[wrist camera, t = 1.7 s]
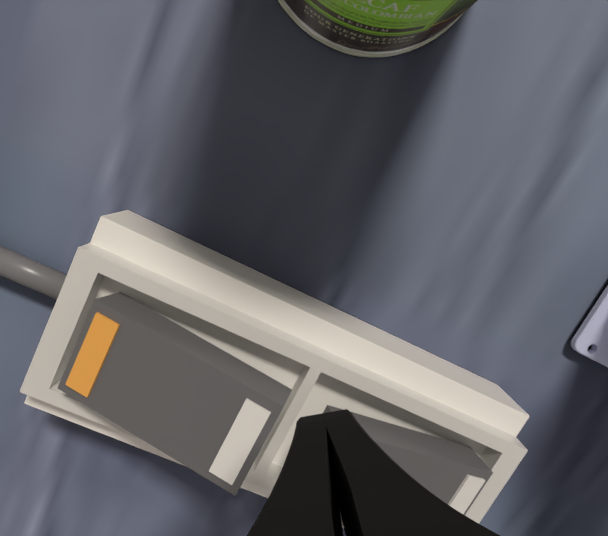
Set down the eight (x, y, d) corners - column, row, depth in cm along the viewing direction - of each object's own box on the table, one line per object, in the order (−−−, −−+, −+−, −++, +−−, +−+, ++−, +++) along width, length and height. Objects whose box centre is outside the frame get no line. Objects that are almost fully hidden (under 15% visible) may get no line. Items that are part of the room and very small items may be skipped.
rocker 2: (470, 446, 20) (495, 474, 18) (427, 513, 20) (447, 545, 19) (327, 404, 17) (342, 434, 15) (282, 484, 17) (292, 520, 16)
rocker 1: (292, 389, 16) (282, 408, 15) (248, 471, 17) (234, 498, 15) (120, 292, 17) (93, 299, 16) (85, 373, 18) (55, 389, 16)
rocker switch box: (497, 384, 23) (542, 428, 19) (414, 515, 24) (439, 581, 20) (-1, 149, 19) (-75, 142, 15) (-62, 322, 20) (-144, 357, 16)
